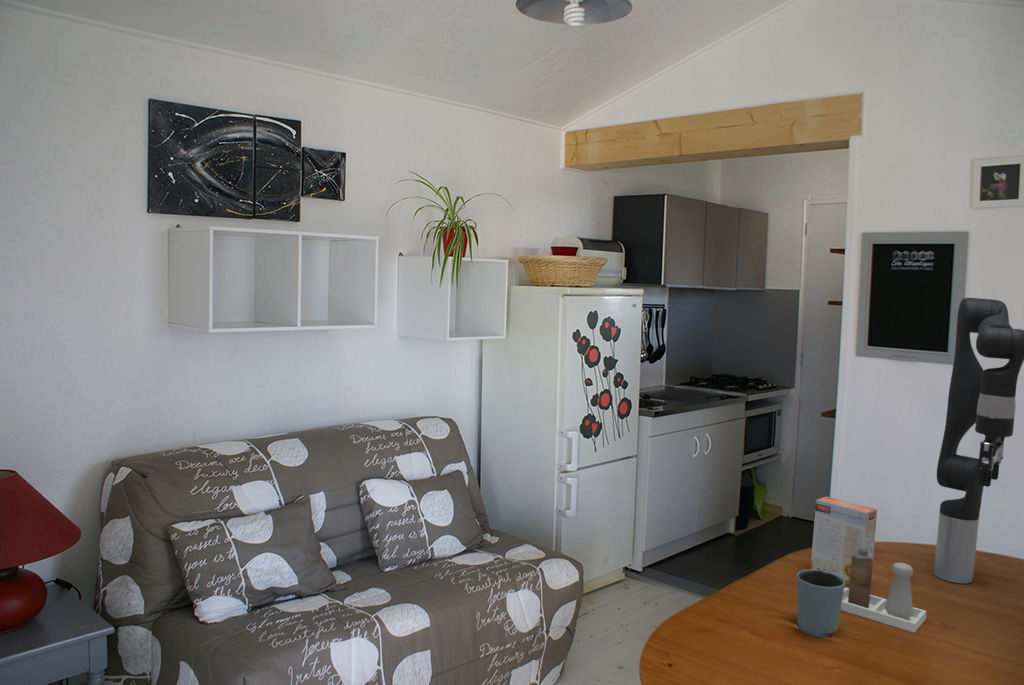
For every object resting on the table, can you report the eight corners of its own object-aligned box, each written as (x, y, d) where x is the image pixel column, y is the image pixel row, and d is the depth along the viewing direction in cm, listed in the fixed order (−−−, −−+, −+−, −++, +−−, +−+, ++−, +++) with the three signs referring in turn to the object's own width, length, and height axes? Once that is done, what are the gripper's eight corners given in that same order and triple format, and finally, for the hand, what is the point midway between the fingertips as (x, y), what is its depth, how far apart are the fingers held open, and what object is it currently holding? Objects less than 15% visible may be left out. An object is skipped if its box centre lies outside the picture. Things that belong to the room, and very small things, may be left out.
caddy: (844, 599, 196) (845, 587, 196) (925, 623, 184) (926, 611, 184) (830, 610, 189) (831, 598, 189) (913, 636, 177) (915, 624, 177)
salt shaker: (914, 625, 180) (920, 570, 179) (887, 622, 182) (892, 567, 180) (907, 615, 186) (913, 561, 185) (881, 611, 187) (886, 558, 186)
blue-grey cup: (839, 623, 182) (843, 573, 181) (842, 643, 173) (846, 590, 171) (792, 615, 185) (796, 566, 184) (793, 634, 176) (797, 582, 175)
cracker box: (871, 587, 204) (878, 508, 202) (860, 593, 201) (867, 512, 198) (820, 570, 215) (827, 494, 213) (809, 575, 211) (815, 498, 209)
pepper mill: (851, 601, 193) (856, 542, 191) (871, 607, 190) (876, 547, 188) (845, 606, 189) (850, 547, 188) (865, 613, 186) (870, 552, 185)
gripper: (983, 408, 191) (976, 473, 193) (970, 415, 181) (963, 484, 182) (1019, 412, 186) (1012, 480, 188) (1008, 420, 176) (1001, 491, 177)
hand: (988, 482), depth 185 cm, fingers open, 8 cm apart
